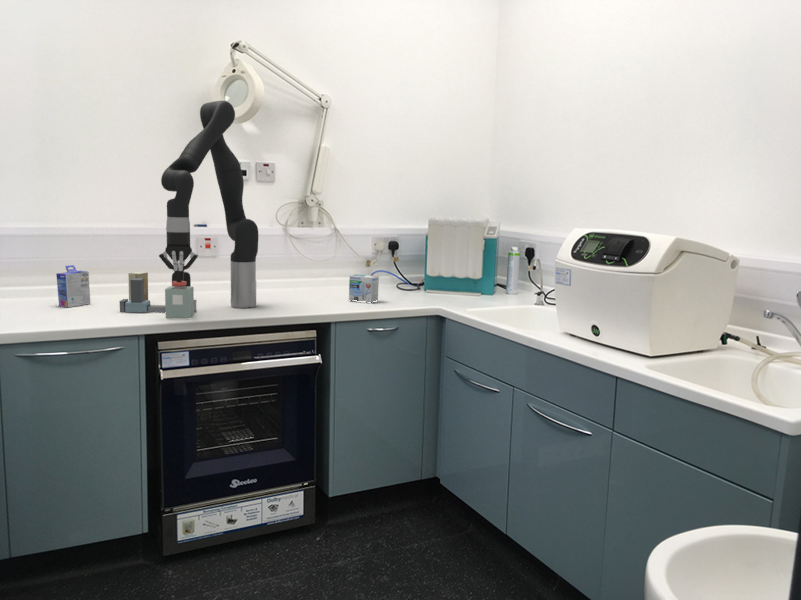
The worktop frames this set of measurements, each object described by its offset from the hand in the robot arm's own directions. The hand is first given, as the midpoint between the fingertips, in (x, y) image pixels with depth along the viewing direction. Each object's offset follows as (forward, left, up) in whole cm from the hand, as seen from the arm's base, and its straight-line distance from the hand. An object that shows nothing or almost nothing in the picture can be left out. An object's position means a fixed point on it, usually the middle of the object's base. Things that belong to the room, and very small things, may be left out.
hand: (179, 281), depth 220 cm
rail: (+9, -9, -12) cm, 18 cm away
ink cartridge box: (+41, -20, -12) cm, 47 cm away
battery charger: (+6, -34, -12) cm, 37 cm away
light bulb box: (-66, -37, -12) cm, 77 cm away
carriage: (+16, -9, -12) cm, 22 cm away
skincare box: (+19, -22, -12) cm, 32 cm away
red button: (0, 0, -10) cm, 10 cm away
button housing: (0, 0, -12) cm, 12 cm away
